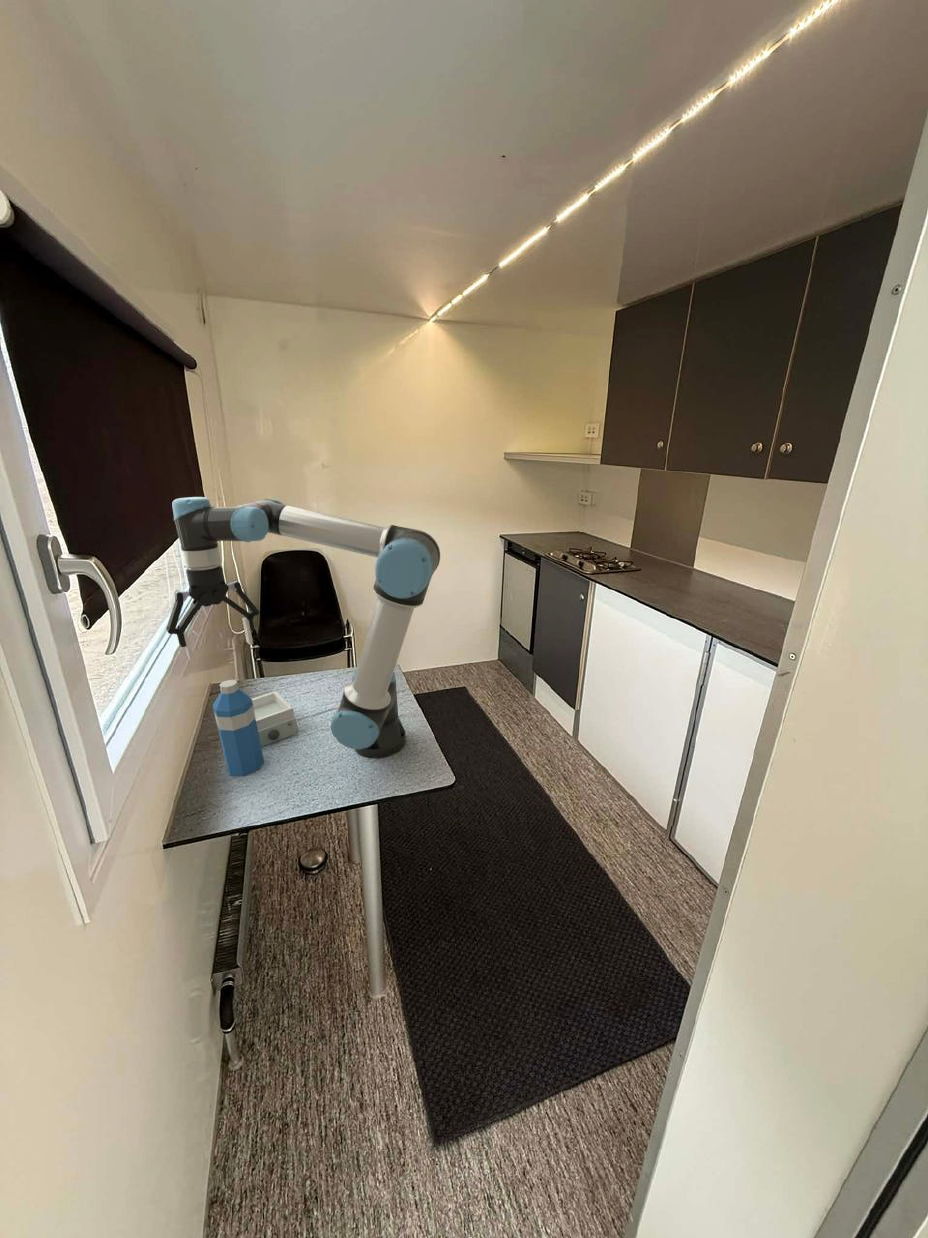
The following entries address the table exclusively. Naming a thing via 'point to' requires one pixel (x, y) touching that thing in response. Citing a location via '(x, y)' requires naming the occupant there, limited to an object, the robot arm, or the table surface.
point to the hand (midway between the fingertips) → (221, 650)
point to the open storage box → (273, 718)
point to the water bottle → (237, 730)
